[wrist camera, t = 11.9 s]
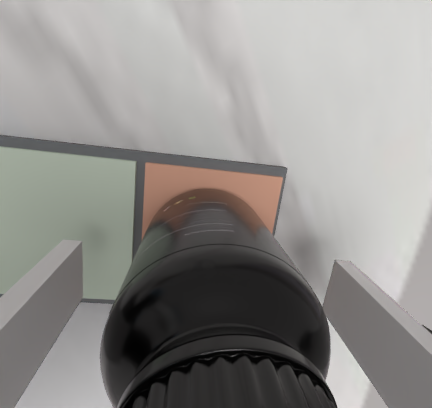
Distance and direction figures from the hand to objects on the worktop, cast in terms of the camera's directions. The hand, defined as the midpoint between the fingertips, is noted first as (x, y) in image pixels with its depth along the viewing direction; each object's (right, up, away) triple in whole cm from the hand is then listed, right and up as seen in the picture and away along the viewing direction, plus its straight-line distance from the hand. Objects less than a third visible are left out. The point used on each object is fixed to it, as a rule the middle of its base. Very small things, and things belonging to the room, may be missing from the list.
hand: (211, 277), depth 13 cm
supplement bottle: (0, +1, +4) cm, 4 cm away
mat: (-4, +2, +4) cm, 6 cm away
